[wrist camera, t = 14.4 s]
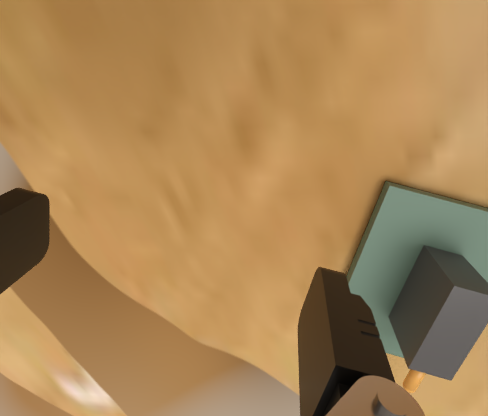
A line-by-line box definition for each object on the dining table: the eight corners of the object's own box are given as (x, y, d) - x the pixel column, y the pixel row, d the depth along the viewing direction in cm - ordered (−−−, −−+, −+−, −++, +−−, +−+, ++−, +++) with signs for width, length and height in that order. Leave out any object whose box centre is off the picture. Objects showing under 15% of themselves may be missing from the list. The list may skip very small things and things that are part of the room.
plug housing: (423, 245, 34) (454, 285, 28) (462, 255, 34) (502, 299, 28) (375, 343, 39) (391, 398, 32) (409, 353, 39) (432, 409, 32)
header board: (385, 180, 34) (402, 200, 29) (531, 219, 33) (574, 246, 28) (325, 326, 41) (329, 363, 36) (446, 360, 40) (468, 402, 35)
